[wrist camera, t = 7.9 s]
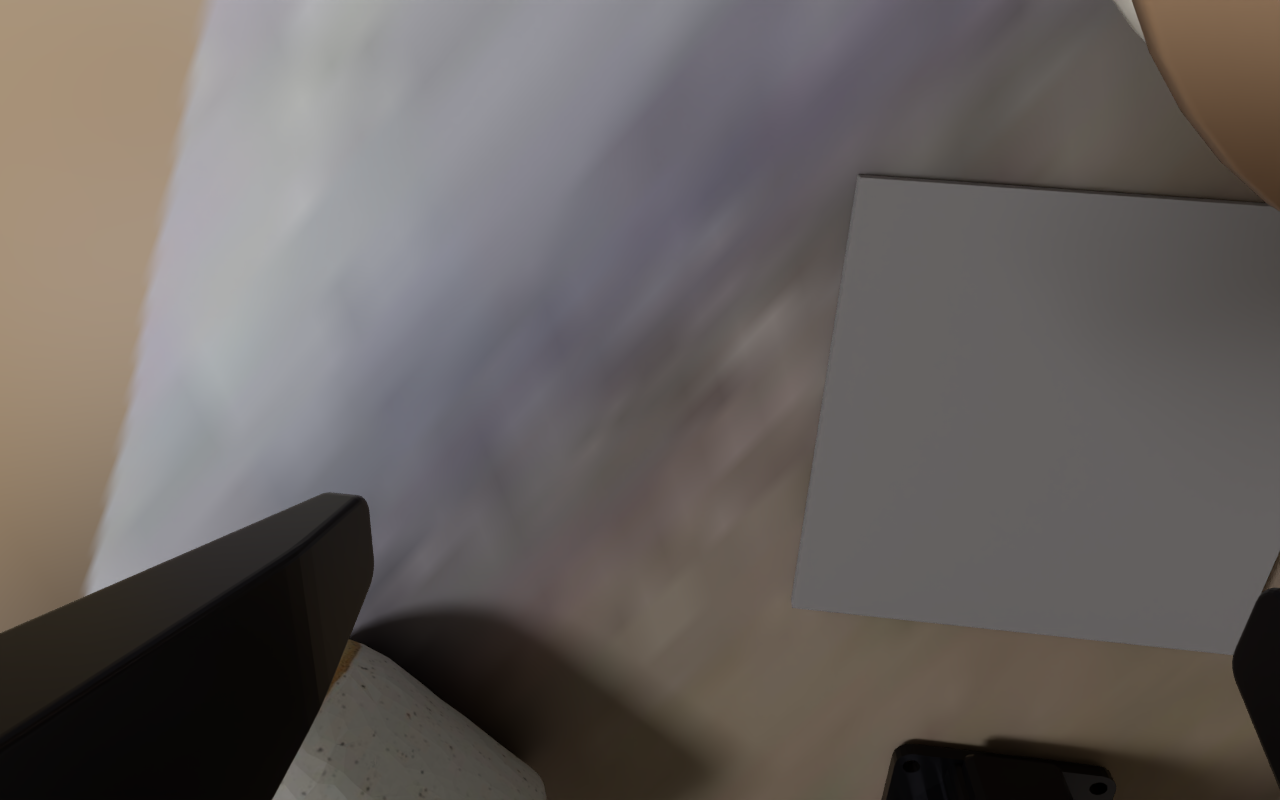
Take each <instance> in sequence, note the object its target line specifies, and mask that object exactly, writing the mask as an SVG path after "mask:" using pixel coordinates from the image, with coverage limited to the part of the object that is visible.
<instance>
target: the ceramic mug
mask: <svg viewBox="0 0 1280 800" xmlns="http://www.w3.org/2000/svg"><path fill="white" fill-rule="evenodd" d="M272 800H546V793H545V787H544V784H543V781H542V779H541V778H540V776H539V775H538V774H537V773H536V772H535V771H534V770H533V769H532V768H531V767H530V766H528V765H527V764H526V763H524V762H523V761H522V760H520V759H519V758H518V757H516V756H515V755H514V754H512V753H511V752H510V751H508V750H507V749H506V748H504V747H503V746H502V745H500V744H499V743H498V742H496V741H495V740H494V739H493V738H491V737H490V736H489V735H488V734H486V733H485V732H484V731H483V730H481V729H480V728H479V727H478V726H476V725H475V724H474V723H473V722H471V721H470V720H469V719H468V718H466V717H465V716H464V715H462V714H461V713H459V712H458V711H457V710H455V709H454V708H452V707H451V706H450V705H448V704H447V703H445V702H444V701H443V700H441V699H440V698H439V697H437V696H436V695H435V694H434V693H433V692H431V691H430V690H429V689H428V688H427V687H425V686H424V685H423V684H422V683H420V682H419V681H418V680H417V679H415V678H414V677H413V676H411V675H410V674H409V673H408V672H406V671H405V670H404V669H402V668H401V667H400V666H399V665H397V664H396V663H395V662H393V661H392V660H391V659H390V658H388V657H386V656H384V655H382V654H380V653H378V652H377V651H375V650H373V649H371V648H369V647H367V646H366V645H364V644H361V643H358V642H356V641H353V640H350V639H349V640H348V642H347V645H346V647H345V650H344V652H343V655H342V657H341V660H340V662H339V665H338V667H337V670H336V672H335V675H334V677H333V680H332V682H331V685H330V687H329V690H328V692H327V694H326V697H325V699H324V701H323V704H322V706H321V708H320V710H319V712H318V714H317V716H316V718H315V720H314V722H313V724H312V726H311V728H310V730H309V732H308V734H307V736H306V738H305V740H304V741H303V743H302V745H301V747H300V749H299V751H298V753H297V755H296V756H295V758H294V760H293V762H292V764H291V766H290V768H289V769H288V771H287V773H286V775H285V777H284V779H283V781H282V783H281V784H280V786H279V788H278V790H277V792H276V794H275V796H274V797H273V799H272Z"/></svg>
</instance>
